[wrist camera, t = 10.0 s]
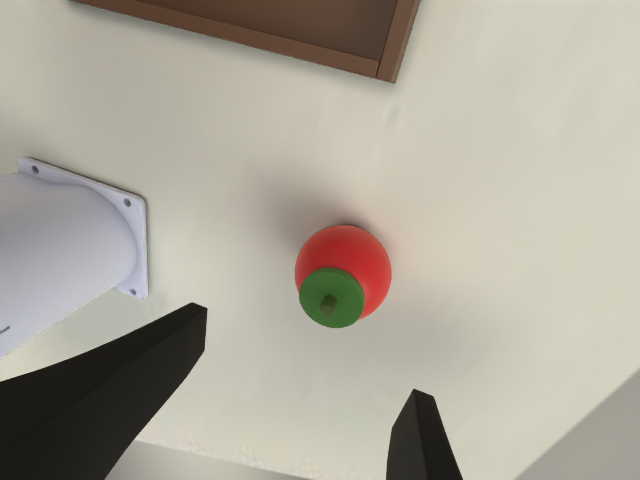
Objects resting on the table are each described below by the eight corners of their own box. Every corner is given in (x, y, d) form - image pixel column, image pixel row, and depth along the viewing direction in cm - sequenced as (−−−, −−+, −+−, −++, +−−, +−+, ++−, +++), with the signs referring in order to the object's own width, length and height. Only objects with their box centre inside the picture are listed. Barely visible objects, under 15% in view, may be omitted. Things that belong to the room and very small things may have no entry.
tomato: (304, 271, 19) (264, 332, 14) (321, 199, 17) (282, 243, 12) (379, 298, 18) (364, 371, 13) (407, 227, 16) (401, 284, 11)
